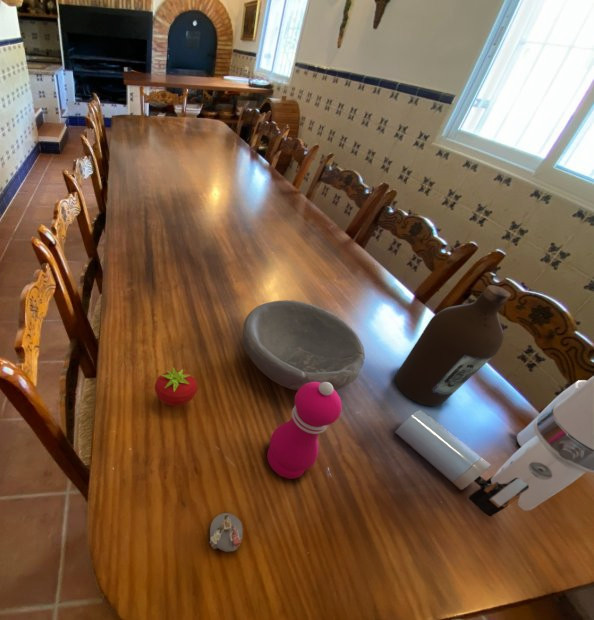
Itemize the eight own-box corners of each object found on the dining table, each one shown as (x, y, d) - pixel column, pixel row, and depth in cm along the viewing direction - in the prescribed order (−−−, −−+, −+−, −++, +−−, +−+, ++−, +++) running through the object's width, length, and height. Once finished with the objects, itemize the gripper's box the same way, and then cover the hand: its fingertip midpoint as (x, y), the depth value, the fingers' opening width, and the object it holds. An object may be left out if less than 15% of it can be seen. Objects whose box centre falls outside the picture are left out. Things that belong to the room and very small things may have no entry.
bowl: (342, 343, 82) (359, 310, 76) (351, 426, 65) (375, 392, 59) (242, 319, 86) (251, 286, 80) (227, 391, 69) (237, 356, 63)
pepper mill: (262, 437, 62) (296, 359, 49) (304, 444, 62) (349, 367, 49) (265, 478, 57) (304, 402, 44) (311, 486, 56) (364, 412, 43)
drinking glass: (557, 447, 65) (631, 397, 55) (555, 473, 61) (634, 424, 51) (512, 423, 68) (575, 372, 58) (507, 446, 64) (574, 395, 54)
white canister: (409, 423, 66) (501, 500, 57) (390, 437, 64) (482, 520, 54) (426, 404, 63) (528, 483, 53) (406, 418, 60) (509, 504, 50)
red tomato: (195, 418, 64) (203, 383, 58) (154, 419, 63) (156, 384, 57) (191, 391, 69) (198, 356, 62) (152, 392, 68) (154, 356, 61)
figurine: (228, 512, 52) (235, 494, 49) (248, 541, 50) (258, 524, 46) (199, 533, 50) (205, 516, 46) (219, 565, 47) (227, 550, 43)
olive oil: (380, 371, 76) (446, 274, 60) (420, 364, 78) (494, 269, 62) (417, 414, 68) (505, 315, 52) (460, 404, 71) (557, 308, 55)
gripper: (594, 499, 38) (485, 554, 50) (640, 433, 45) (534, 496, 57) (515, 441, 43) (432, 505, 55) (567, 390, 50) (484, 456, 62)
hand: (485, 500), depth 56 cm, fingers closed on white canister, 2 cm apart
